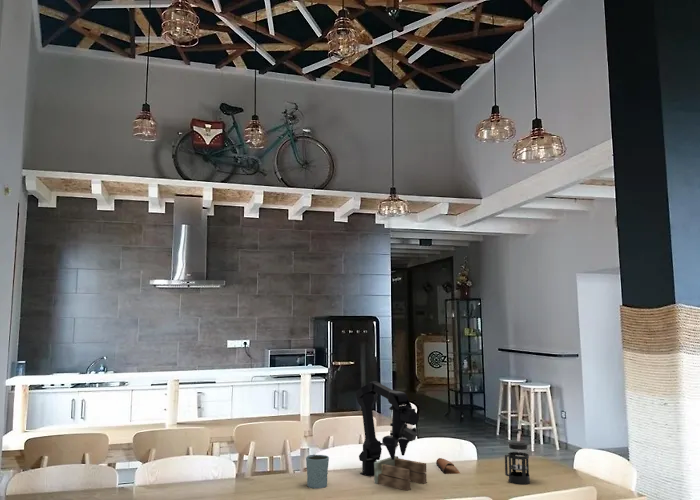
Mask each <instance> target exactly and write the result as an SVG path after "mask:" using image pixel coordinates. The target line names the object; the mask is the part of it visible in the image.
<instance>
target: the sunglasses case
mask: <svg viewBox="0 0 700 500" xmlns="http://www.w3.org/2000/svg"><path fill="white" fill-rule="evenodd" d="M435 463H436V465H437V466H438V468H440V470H441V471H442V472H443V473H444V474H445V475H455V474H457V475H458V474H459V475H460V474H461V471H459V469H458V468H457V467H456V466H455V464H454V463H453V462H451V461H449V460H447V459H445V458H442V457H441V458H440V457H439V458H437V460H436V462H435Z"/></svg>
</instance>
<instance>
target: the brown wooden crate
mask: <svg viewBox="0 0 700 500" xmlns="http://www.w3.org/2000/svg"><path fill="white" fill-rule="evenodd" d="M382 464H387V465H392V466H396V467H401V468H405V469H409V479H407V480H405V479H400V478H396V477H392V476H388V475H384V474H382ZM373 478H374V479H373V480H374V481H373V483H374V484H375V485H382V486H387V487H390V488H394V489H399V490H403V491H404V490H405V491H409V490H411V489H412V488H411V482H413V483H417V484H421V483H423V484H422V485H424V483H425V484H427V481H428V480H427V463H426V462H420V461H416V460H415V461H414V460H409V459H404V458H399V456H397V455H395V458H394V460H392V459H391V456H389V457H387V458H383V459H380V460H376V462H374V475H373Z"/></svg>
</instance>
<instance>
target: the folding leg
mask: <svg viewBox="0 0 700 500" xmlns="http://www.w3.org/2000/svg"><path fill="white" fill-rule="evenodd" d="M382 474H384V475H388V476H392V477H396V478H400V479H405V480H407V479H409V469H405V468H401V467H396V466H392V465H387V464H382Z"/></svg>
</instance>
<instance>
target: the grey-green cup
mask: <svg viewBox="0 0 700 500" xmlns="http://www.w3.org/2000/svg"><path fill="white" fill-rule="evenodd" d="M329 459H330V457H329V456H328V455H325V454H310V455H307V456H306V457H305V464H306V474H307V475H306V483H307V487H308V488H310V489H324V488H327V486H328V474H329V472H328V471H329Z"/></svg>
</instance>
